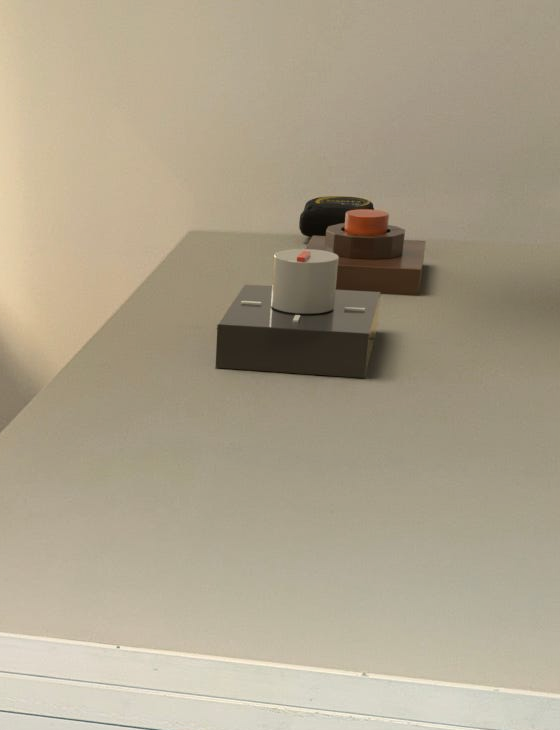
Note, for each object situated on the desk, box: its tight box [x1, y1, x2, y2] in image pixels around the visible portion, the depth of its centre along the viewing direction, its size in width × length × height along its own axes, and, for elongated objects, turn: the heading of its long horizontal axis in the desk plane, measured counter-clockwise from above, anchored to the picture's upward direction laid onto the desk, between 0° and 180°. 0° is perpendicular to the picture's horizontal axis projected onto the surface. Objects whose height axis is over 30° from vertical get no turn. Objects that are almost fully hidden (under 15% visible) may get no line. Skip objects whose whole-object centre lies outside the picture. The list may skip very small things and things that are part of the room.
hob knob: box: [271, 248, 339, 314], centre depth 90 cm, size 4×4×4 cm
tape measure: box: [298, 195, 375, 238], centre depth 126 cm, size 7×7×4 cm
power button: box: [344, 209, 390, 235], centre depth 111 cm, size 4×4×2 cm
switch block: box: [304, 223, 427, 297], centre depth 112 cm, size 12×10×4 cm
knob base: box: [215, 284, 381, 379], centre depth 92 cm, size 12×10×3 cm
